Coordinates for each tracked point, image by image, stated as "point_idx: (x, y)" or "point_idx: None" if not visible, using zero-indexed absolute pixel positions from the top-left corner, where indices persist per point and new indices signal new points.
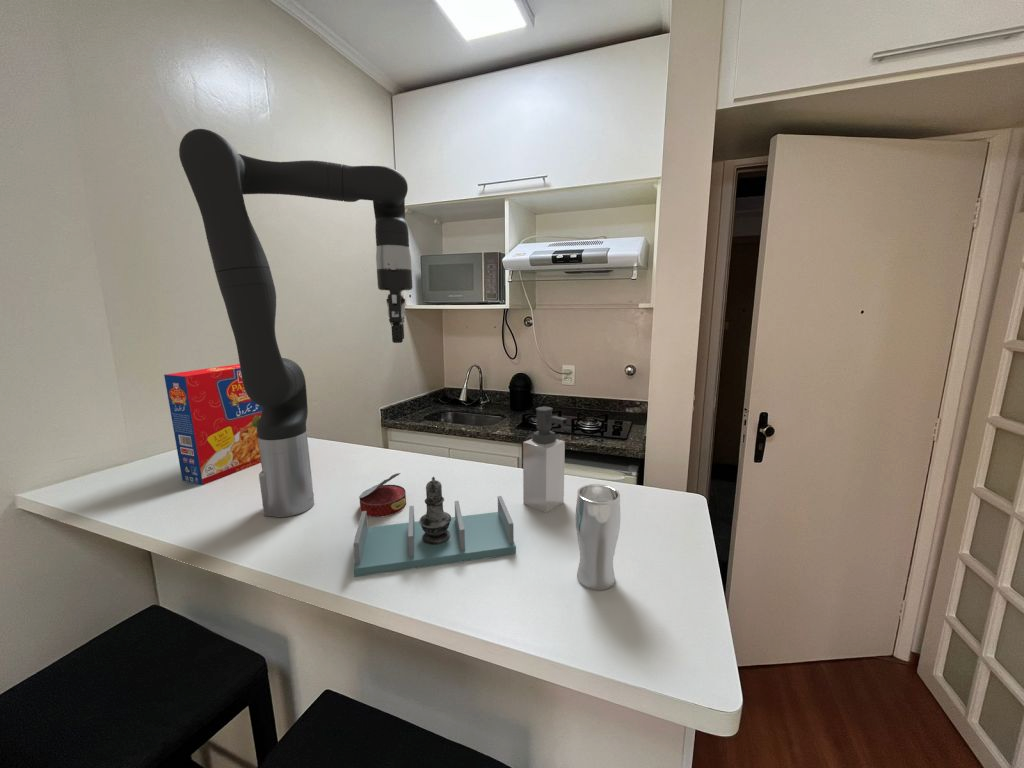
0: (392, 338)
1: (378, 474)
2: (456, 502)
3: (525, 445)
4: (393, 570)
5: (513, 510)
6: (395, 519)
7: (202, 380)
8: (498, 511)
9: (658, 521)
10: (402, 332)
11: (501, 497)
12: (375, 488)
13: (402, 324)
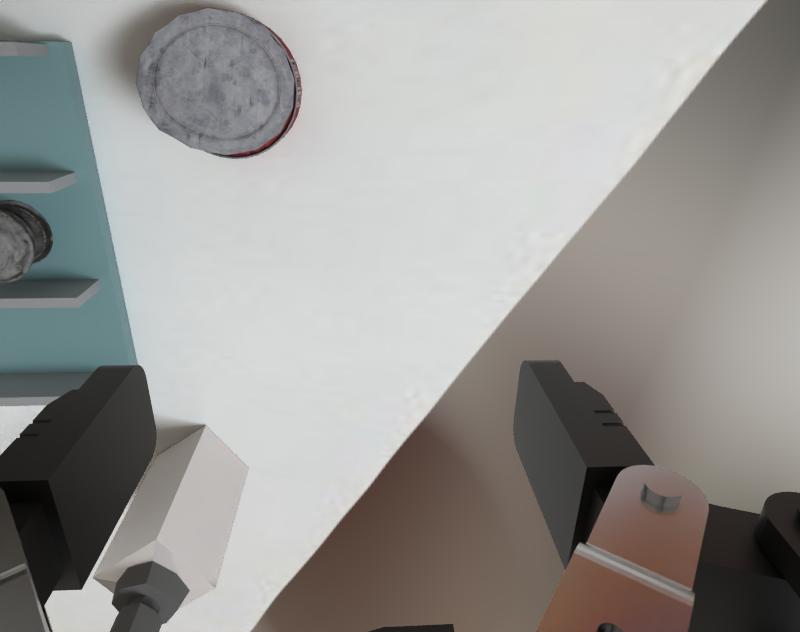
0: (87, 384)
1: (479, 51)
2: (68, 301)
3: (152, 536)
4: None
5: (173, 400)
6: (151, 126)
7: None
8: None
9: (108, 608)
10: (534, 475)
11: None
12: (218, 65)
13: (567, 556)
